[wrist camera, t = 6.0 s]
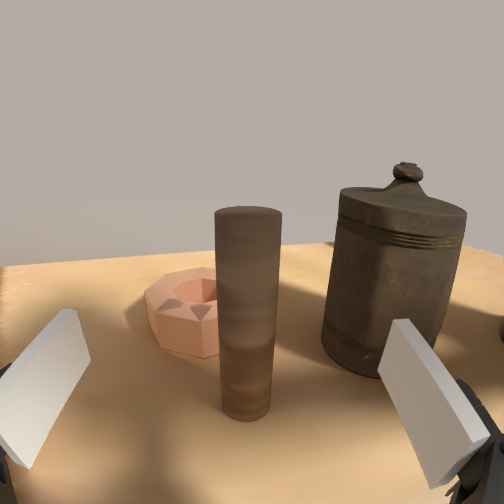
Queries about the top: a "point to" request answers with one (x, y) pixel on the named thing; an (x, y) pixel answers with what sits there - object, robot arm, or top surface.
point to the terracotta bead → (185, 312)
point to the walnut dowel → (247, 306)
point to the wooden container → (389, 267)
